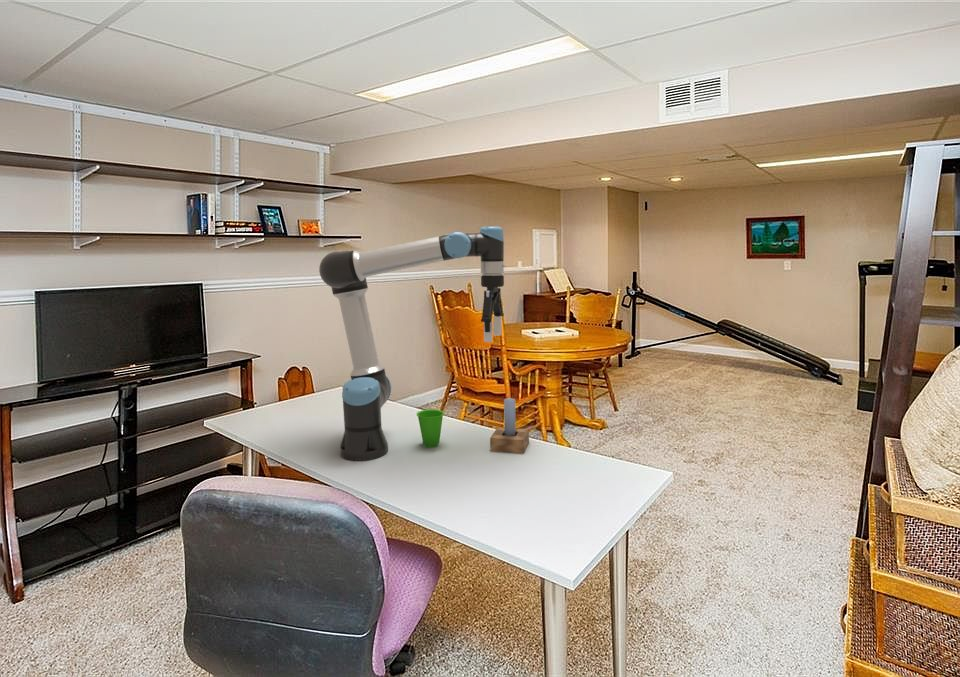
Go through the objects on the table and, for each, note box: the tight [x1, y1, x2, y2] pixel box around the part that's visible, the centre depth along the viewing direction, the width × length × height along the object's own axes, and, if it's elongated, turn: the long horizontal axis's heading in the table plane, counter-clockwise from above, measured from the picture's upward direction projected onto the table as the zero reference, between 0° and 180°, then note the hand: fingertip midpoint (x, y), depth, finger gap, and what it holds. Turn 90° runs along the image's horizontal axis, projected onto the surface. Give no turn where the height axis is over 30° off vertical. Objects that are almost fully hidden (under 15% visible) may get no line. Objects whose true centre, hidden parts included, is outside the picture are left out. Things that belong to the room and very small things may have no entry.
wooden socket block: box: [489, 426, 530, 455], centre depth 182 cm, size 11×11×4 cm
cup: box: [416, 408, 445, 448], centre depth 184 cm, size 9×9×11 cm
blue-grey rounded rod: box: [503, 397, 516, 436], centre depth 181 cm, size 4×4×16 cm
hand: (493, 338), depth 185 cm, fingers open, 13 cm apart
